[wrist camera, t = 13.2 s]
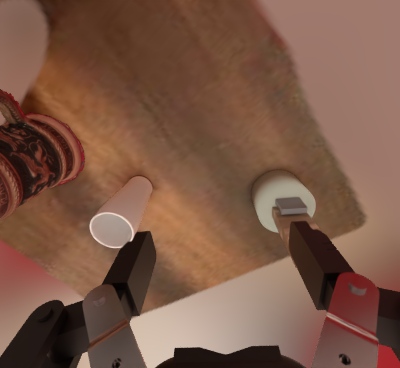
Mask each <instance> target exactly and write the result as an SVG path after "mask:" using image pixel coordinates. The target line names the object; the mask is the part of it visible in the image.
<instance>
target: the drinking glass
mask: <svg viewBox="0 0 400 368" xmlns="http://www.w3.org/2000/svg"><path fill="white" fill-rule="evenodd" d="M152 190H153V188H152V184H151V182H150V181H149V180H148V179H146V178H145V177H142V176H135V177H133V178H131V179H130V180H129V181H128V182H127V183H126V184H125V185H124V186H123V187H122V188H121V189H120V190H119V191H117V192H116V193H115V194H114V195H113V196H112V197H111V198H110V199H109V200H107V201H106V202H105V203H104V204H103V206H102V207H101V208H100V209H99V210H98V211H97V213H96V214H95V215H94V217H93V218H92V220H91V222H90V231H91V234H92V236H93V237H94V238H95V239H96V240H97V241H98V242H99V243H101V244H102V245H105V246H107V247H111V248H121V247H123V246H124V245H125V244H126V243H127V242H128V241H132V240H133V238H134V236H135V234H136V232H137V231H138V229H139V227H140V224H141V222H142V219H143V216H144V213H145V210H146V207H147V204H148V201H149V198H150V196H151V194H152Z"/></svg>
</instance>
